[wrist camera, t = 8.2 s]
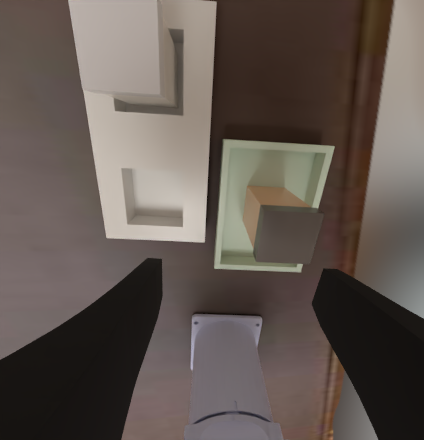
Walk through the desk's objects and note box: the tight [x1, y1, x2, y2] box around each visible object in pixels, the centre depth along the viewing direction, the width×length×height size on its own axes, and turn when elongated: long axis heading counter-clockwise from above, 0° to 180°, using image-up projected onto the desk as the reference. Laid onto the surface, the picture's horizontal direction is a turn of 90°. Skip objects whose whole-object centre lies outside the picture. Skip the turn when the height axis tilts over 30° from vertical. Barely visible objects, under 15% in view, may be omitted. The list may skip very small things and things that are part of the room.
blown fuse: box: [243, 185, 325, 264], centre depth 15 cm, size 3×3×6 cm
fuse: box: [68, 0, 178, 108], centre depth 11 cm, size 3×3×6 cm
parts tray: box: [214, 139, 335, 272], centre depth 18 cm, size 11×8×2 cm
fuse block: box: [83, 0, 217, 242], centre depth 15 cm, size 15×8×3 cm, turn 177°
